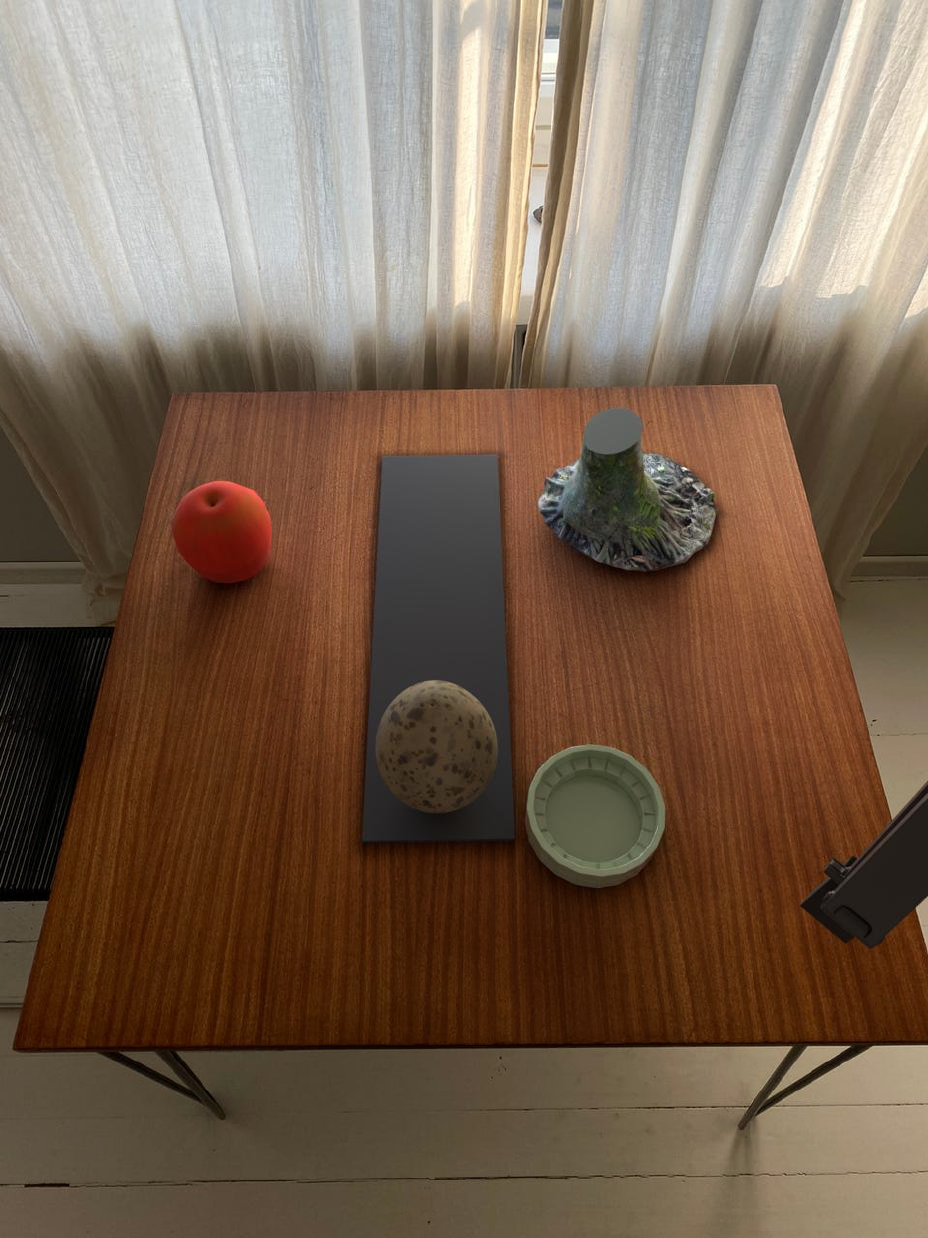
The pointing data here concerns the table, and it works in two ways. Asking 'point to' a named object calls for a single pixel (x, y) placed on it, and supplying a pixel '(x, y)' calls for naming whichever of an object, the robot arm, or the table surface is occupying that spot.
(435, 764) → the decorative egg
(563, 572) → the table surface
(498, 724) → the mat
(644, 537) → the tree stump
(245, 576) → the apple
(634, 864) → the bowl
